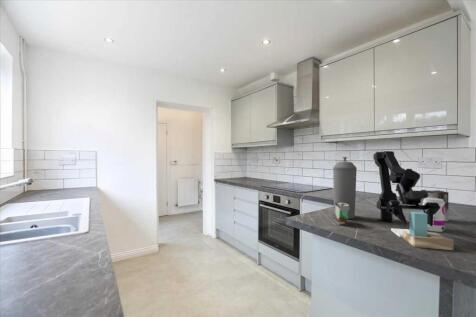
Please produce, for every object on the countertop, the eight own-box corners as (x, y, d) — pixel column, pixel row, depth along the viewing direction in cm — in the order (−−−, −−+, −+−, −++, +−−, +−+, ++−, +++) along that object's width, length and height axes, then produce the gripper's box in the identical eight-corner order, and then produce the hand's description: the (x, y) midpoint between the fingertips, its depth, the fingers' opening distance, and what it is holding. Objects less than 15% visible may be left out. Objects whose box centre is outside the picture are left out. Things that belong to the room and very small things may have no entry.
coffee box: (438, 218, 132) (438, 190, 131) (448, 221, 125) (449, 192, 125) (422, 218, 131) (423, 190, 131) (432, 221, 125) (433, 192, 125)
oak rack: (402, 237, 101) (403, 228, 101) (437, 240, 98) (437, 231, 98) (414, 247, 91) (414, 236, 91) (453, 250, 88) (453, 239, 88)
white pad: (391, 230, 111) (391, 228, 111) (412, 231, 109) (412, 229, 109) (399, 237, 102) (399, 234, 102) (423, 238, 100) (423, 236, 100)
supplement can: (444, 229, 112) (445, 198, 112) (444, 233, 106) (444, 201, 106) (423, 225, 118) (423, 196, 118) (421, 229, 112) (422, 198, 112)
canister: (335, 213, 143) (335, 156, 142) (358, 216, 136) (358, 156, 135) (329, 217, 133) (330, 157, 132) (354, 221, 125) (355, 157, 125)
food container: (352, 226, 116) (352, 207, 116) (339, 226, 118) (339, 206, 117) (346, 219, 128) (346, 202, 128) (334, 219, 130) (334, 201, 129)
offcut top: (424, 236, 98) (424, 231, 98) (435, 237, 97) (435, 232, 97) (432, 242, 92) (432, 237, 92) (445, 243, 91) (445, 238, 90)
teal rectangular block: (409, 240, 98) (409, 211, 98) (421, 241, 97) (422, 211, 97) (414, 244, 94) (414, 213, 94) (426, 245, 93) (427, 214, 93)
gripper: (388, 182, 102) (399, 213, 92) (438, 183, 98) (455, 216, 87) (381, 196, 110) (391, 227, 99) (427, 198, 106) (442, 230, 95)
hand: (418, 225), depth 95 cm, fingers open, 9 cm apart
